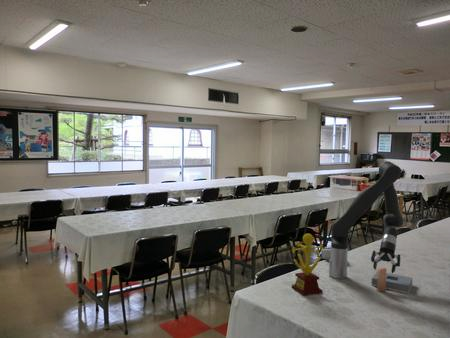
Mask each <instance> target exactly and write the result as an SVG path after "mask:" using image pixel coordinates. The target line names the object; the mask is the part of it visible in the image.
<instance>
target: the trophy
mask: <svg viewBox="0 0 450 338" xmlns="http://www.w3.org/2000/svg"><path fill="white" fill-rule="evenodd" d="M314 239H315V237H314V236H313V235H312V234H311V233H305V234H304V235H303V236H302V242H303V244H304V245H303V244H301V242H300V241H297V243H296V244H297V245H296V246H297V248H296V247H295V246H292V247H291V250H292V253H294V254H295V253H296V251H302V252H303V253H304V255H305V263H304V260H303V258H302V255H301V253H299V254H297V257H298V258H299V261H300V263H298V261H297V259H293V262H294V263H295V264H296V265H297V266H298V268H299V269H300V270H301V271H302V272H297V273H294V274H295V275H294V276H295V277H296V280H295V284H291V288H292V289H293V290H294V291H295V292H297V293H298V294H300V295H301V296H303V297H307V296H313V295H320V294H323V289H322V288H320V287H319V283H318V280H320V276H318V275H316V274H315V273H314V272H313V270H315V269H316V267H317V265H318V264H319V262H320V260H321V259H322V256H320V251H322V250H323V248H324V244H319V246H311V245H312V244H313V243H314V241H315V240H314ZM311 253H315V256H317V259H316V260H315V262H314V263H313V264H312V265H311V266H310V255H311ZM318 256H319V257H318ZM300 264H301V265H300Z"/></svg>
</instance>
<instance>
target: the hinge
mask: <svg viewBox="0 0 450 338" xmlns="http://www.w3.org/2000/svg"><path fill="white" fill-rule="evenodd" d="M321 259H324V260H328V261H330V259H331V246H327V247H326V246H325V247H323V250H321ZM347 263H348V259H347Z"/></svg>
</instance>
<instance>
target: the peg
mask: <svg viewBox="0 0 450 338" xmlns="http://www.w3.org/2000/svg"><path fill="white" fill-rule="evenodd" d="M377 271H378V287H377V286H376V287H377V292H378V293H386V291H387V289H386V273H387V268H386V267H381V266H380V267H378V268H377Z"/></svg>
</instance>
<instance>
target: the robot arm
mask: <svg viewBox="0 0 450 338" xmlns="http://www.w3.org/2000/svg"><path fill="white" fill-rule="evenodd" d="M378 174H379V178H378V180H377V181H376V182H375V183H373V184H372V185H369V186H368V187H365V188H364V189H363V190H361V191H360V192H359V193H358V194H357V196H356V197H355V198H354V199H353V200H352V202H351V203H350V204H349V206H348V208H347V210H346V212H345V213H344V214H343V215H342V216H341V217H340V218H337V219H334V221H333V222H332V224H331V239H330V247H331V259H330V260H329V268H328V273H329V274H328V275H329V277H331V278H334V279H338V280H339V279H340V280H344V279H347V276H348V262H347V260H348V254H349V253H348V251H349V231H350V230H351V229H352V228H353V226H354V225H355V223H356V222H357V221H358V220H359V219H360V218H361V217H363V216H364V214H366V212H367V211H368V210H369V209H370V208H372V206H373V205H374V203H375V202H376V201H377V200H378V199H379V198H380V197H381V196H382V195H383V198H384V208H385V211H386V213H388V214H384V215H383V217H382V222H383V234H382V237H381V242H380V247H379V251H376V250H373V251H372V253H371V257H370V261H371V263H373V265H372V267H373V269H374V270H375V271H376V270H377V266H378V263H380V262H381V261H383V262H387V263H391V270H390V271H391V274H393V273H395V272H396V269H397V267H401V254H395V252H396V247H397V239H398V233H399V232H398V230H397V228H401V227H402V226H403V224H404V218H403V216H402V213H401V211H400V207H399V197H398V194H397V191H396V188H395V184H394V183H396V181H397V180H398V179H399V178H400V177H401V175H402V168H401V167H400V166H399V165H398V164H395V163H394V162H391V161H385V160H384V161H383V162H381V163H380V165H379V166H378ZM377 255H378V256H377ZM394 259H396V262H395V261H394Z"/></svg>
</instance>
